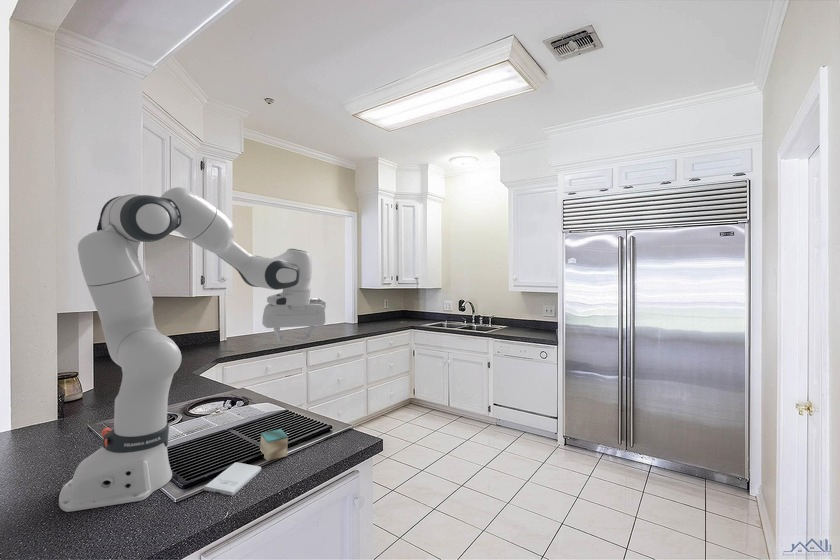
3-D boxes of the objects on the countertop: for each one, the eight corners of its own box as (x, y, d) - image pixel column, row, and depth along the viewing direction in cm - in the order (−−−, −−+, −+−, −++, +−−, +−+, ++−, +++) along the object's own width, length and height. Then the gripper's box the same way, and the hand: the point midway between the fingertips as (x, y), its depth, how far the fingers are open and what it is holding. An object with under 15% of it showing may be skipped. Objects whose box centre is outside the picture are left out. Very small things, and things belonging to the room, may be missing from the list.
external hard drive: (261, 472, 114) (232, 497, 102) (234, 467, 116) (203, 491, 103) (261, 466, 114) (232, 491, 102) (234, 461, 115) (203, 485, 103)
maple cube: (288, 436, 122) (286, 456, 123) (280, 428, 127) (279, 447, 127) (267, 441, 119) (266, 461, 119) (261, 433, 123) (260, 452, 124)
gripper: (322, 297, 145) (320, 336, 146) (262, 297, 133) (259, 339, 134) (329, 299, 140) (327, 339, 140) (267, 300, 127) (265, 344, 128)
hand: (293, 339), depth 137 cm, fingers open, 8 cm apart
